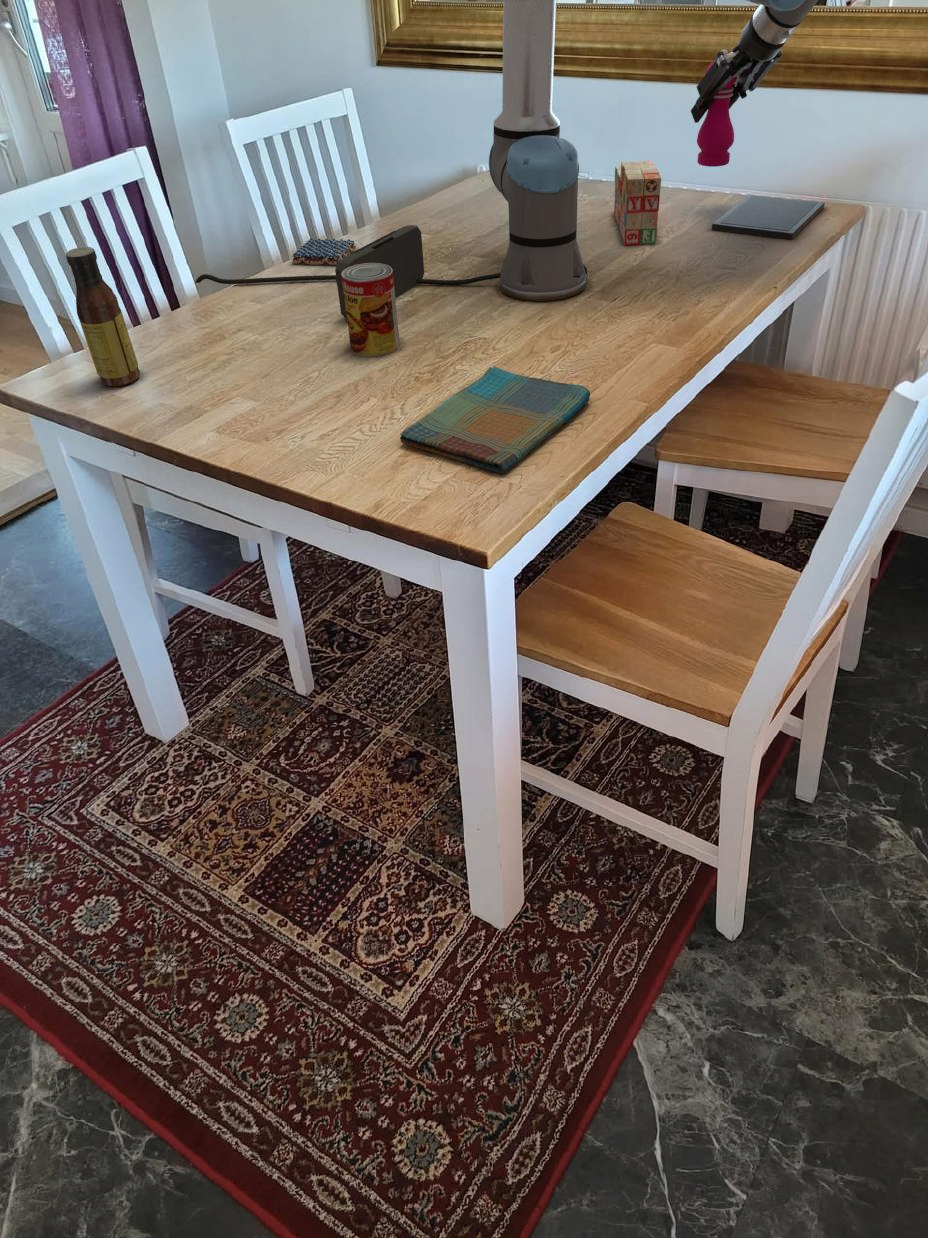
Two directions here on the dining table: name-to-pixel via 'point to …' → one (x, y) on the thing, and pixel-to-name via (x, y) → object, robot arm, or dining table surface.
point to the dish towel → (496, 419)
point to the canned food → (371, 309)
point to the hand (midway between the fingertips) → (706, 114)
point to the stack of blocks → (637, 201)
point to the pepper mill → (717, 129)
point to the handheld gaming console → (389, 259)
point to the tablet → (768, 216)
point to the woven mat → (323, 251)
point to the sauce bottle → (102, 321)
